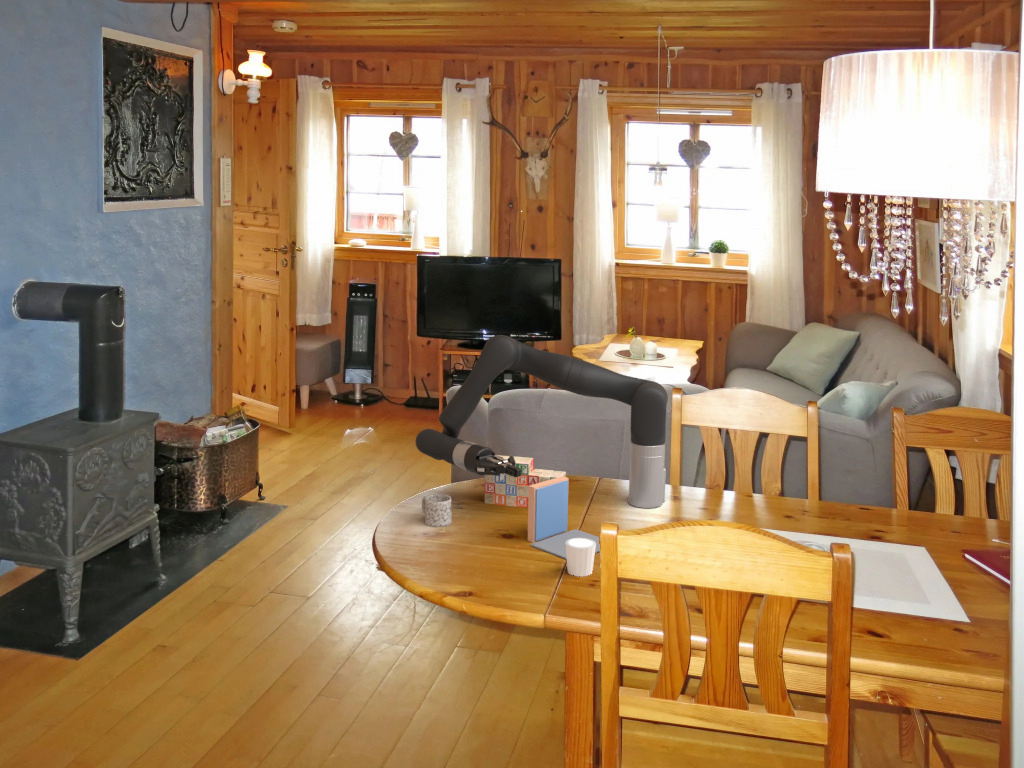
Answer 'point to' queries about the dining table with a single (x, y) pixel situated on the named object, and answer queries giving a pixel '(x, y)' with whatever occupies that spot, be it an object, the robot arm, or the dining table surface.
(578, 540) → the white cup
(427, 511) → the mug
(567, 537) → the mat
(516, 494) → the stack of blocks
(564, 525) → the tile
